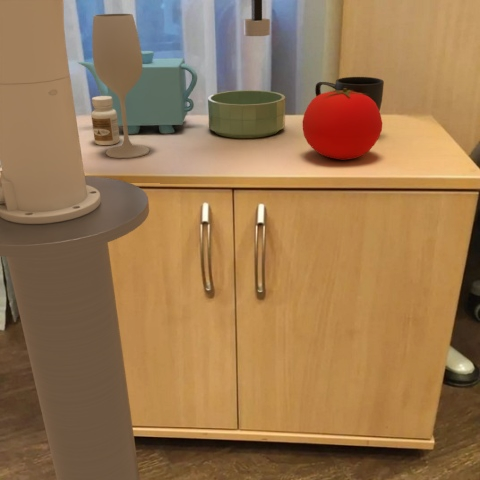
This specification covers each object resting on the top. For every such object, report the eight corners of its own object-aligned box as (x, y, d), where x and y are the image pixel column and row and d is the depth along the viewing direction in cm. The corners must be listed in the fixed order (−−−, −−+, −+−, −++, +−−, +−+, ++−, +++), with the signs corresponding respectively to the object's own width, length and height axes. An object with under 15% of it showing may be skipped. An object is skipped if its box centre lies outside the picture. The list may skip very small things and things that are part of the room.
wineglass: (134, 160, 97) (119, 17, 87) (95, 155, 100) (77, 16, 90) (158, 148, 103) (147, 13, 93) (121, 144, 106) (107, 13, 96)
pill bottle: (90, 144, 106) (84, 99, 103) (102, 138, 110) (97, 94, 106) (112, 146, 105) (106, 100, 101) (124, 140, 109) (119, 95, 105)
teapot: (201, 120, 122) (198, 46, 115) (197, 133, 112) (193, 54, 105) (93, 122, 122) (83, 48, 115) (79, 135, 112) (68, 56, 106)
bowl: (224, 142, 106) (223, 107, 103) (199, 125, 118) (198, 93, 115) (297, 134, 110) (298, 100, 107) (266, 118, 122) (266, 87, 119)
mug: (323, 126, 115) (326, 74, 111) (384, 133, 110) (390, 78, 105) (306, 136, 109) (308, 81, 104) (370, 143, 104) (375, 86, 99)
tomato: (391, 160, 95) (399, 90, 90) (325, 171, 91) (329, 98, 86) (351, 143, 104) (355, 79, 99) (289, 153, 100) (290, 86, 94)
